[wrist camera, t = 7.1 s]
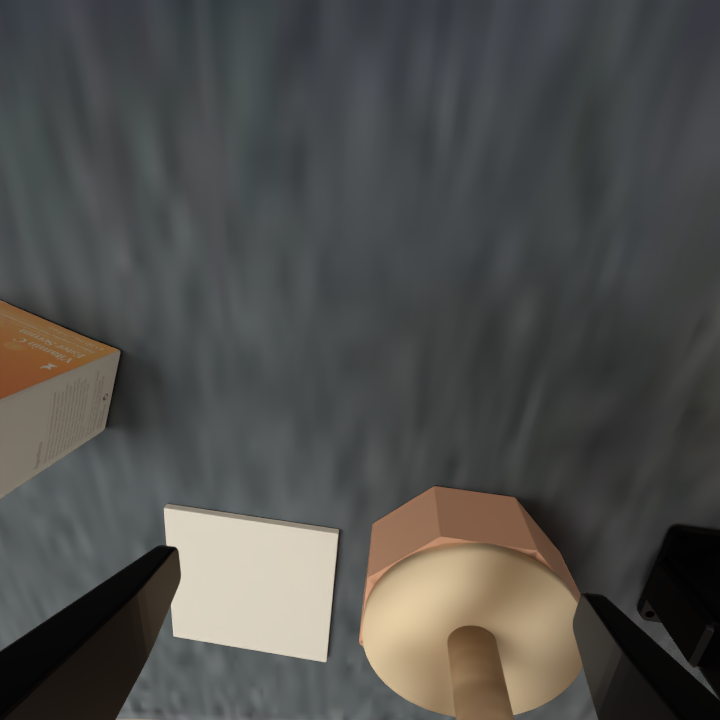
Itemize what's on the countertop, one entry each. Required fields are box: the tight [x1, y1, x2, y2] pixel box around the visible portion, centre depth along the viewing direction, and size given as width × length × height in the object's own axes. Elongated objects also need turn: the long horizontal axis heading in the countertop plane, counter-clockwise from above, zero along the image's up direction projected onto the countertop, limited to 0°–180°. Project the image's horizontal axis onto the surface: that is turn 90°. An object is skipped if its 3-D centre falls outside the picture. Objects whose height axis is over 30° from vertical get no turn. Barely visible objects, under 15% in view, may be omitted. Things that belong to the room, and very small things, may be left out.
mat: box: [164, 504, 339, 662], centre depth 26 cm, size 11×11×1 cm
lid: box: [362, 542, 583, 720], centre depth 18 cm, size 11×11×6 cm
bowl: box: [359, 486, 581, 647], centre depth 23 cm, size 11×11×4 cm
